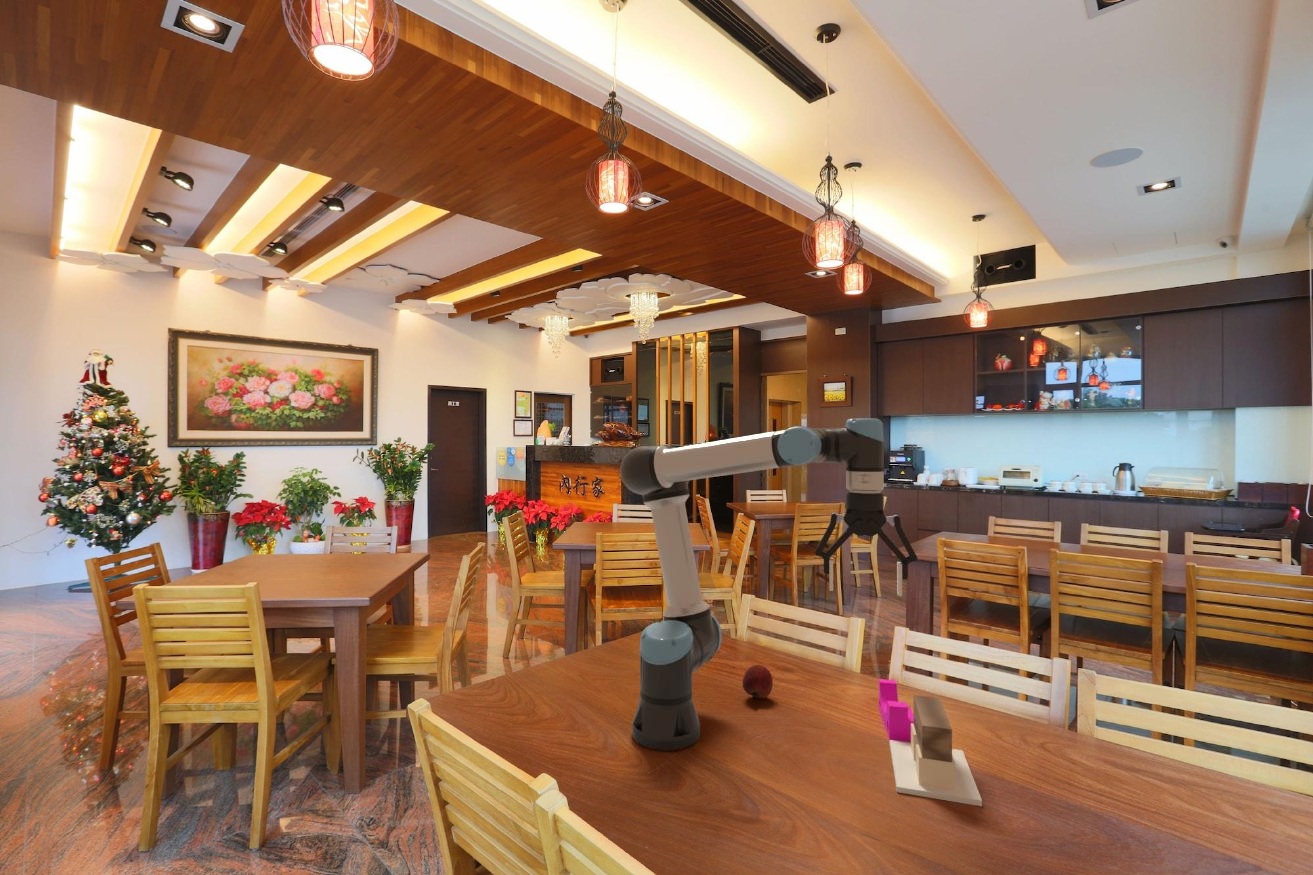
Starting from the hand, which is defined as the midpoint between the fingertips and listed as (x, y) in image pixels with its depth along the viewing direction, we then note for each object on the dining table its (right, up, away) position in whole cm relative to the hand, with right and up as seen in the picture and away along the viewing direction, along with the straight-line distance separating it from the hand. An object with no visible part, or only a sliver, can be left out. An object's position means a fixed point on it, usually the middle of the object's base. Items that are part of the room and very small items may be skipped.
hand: (864, 592), depth 125 cm
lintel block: (+10, -27, -10) cm, 30 cm away
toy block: (+11, -33, +10) cm, 36 cm away
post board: (+10, -33, -10) cm, 35 cm away
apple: (-18, -33, +24) cm, 45 cm away
